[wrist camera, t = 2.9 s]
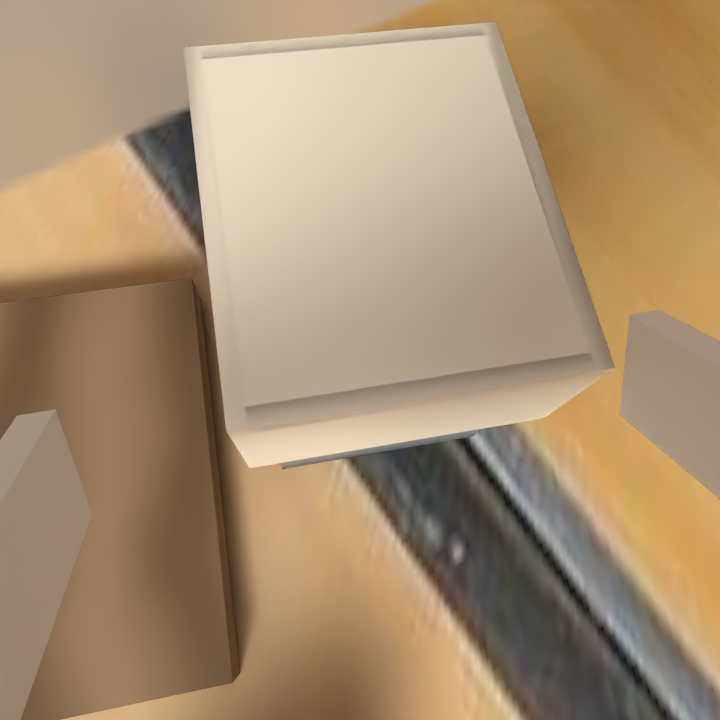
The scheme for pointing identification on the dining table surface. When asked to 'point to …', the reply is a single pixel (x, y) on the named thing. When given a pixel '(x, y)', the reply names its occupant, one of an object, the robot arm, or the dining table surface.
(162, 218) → the dining table surface
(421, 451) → the dining table surface
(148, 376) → the board
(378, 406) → the lid
